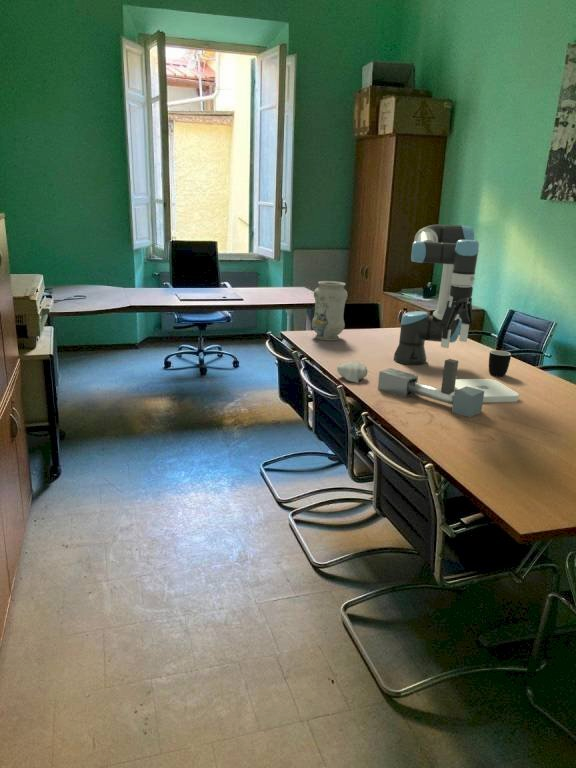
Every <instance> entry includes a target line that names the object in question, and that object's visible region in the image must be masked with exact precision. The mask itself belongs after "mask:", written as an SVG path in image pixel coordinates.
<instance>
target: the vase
mask: <svg viewBox="0 0 576 768" xmlns="http://www.w3.org/2000/svg"><path fill="white" fill-rule="evenodd" d="M317 284H318V287H316V288H315V289H314V291H313V298H314V302H315V303H314V315H313V318H312V321H311V327H312V330H313V331H314V332H315V334H316V335H315V338H316V339H318V340H321V341H327V342H328V341H329V342H331V341H333V342H334V341H338V340H340V337H339V335H340V334H341V333H342V332H343V331H344V330H345V327H346V326H345V325H346V324H345V320H344V313H345V306H346V301H347V299H348V292H347V290H346V289H345V288H344V287H345V286H346V283H345V282H341V281H331V280H322V281H318V282H317Z"/></svg>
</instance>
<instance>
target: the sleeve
mask: <svg viewBox="0 0 576 768" xmlns="http://www.w3.org/2000/svg"><path fill="white" fill-rule="evenodd" d="M378 372H379V373H378V383H377V390H378V391H382V392H386V393H390V394H393V395H396V396H399V397H402V398H408V397H411V396H412V395H413V396H414V395H415V394H414V393H411V392H408V384H409V381H413V382H417V383H418V379H419V375H418V374H413V373H411V372H408V371H407V372H406V371H403V370H400V369H399V370H398V369H394V368H386V369H383V370H380V371H378Z"/></svg>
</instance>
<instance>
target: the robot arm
mask: <svg viewBox="0 0 576 768" xmlns="http://www.w3.org/2000/svg"><path fill="white" fill-rule="evenodd" d="M479 247H480V243H479V241H478V240H475V231H474V228H473V227H472V226H469V225H463V224H461V225H456V224H432V225H430V224H429V225H427V226H425V227H422V228H421V229H419V230H418V231H417V232H416V233H415V235H414V239H413V242H412V246H411V255H410V256H411V257H410V261H411V262H412V263H413V262H414V263H418V264H419V263H420V264H423V263H424V264H426V263H428V264H439V265H441V264H442V265H443V266H442V271H441V279H440V280H441V281H440V287H439V293H438V300H437V308H436V310H434V311H433V313H432V315H429V314H428V312H427V311H421V310H420V311H419V310H418V311H417V310H416V311H408V312H405V313H403V315H402V316H401V322H400V331H399V333H400V334H399V341H398V345H397V347H396V349H395V352H394V354H393V361H394V362H397V363H399V364H404V365H410V366H411V365H412V366H417V365H418V366H420V365H425V364H426V363H427V354H426V348H425V342H427V341H428V342H437V343H438V342H440V348H443V349H444V348H445V349H449V347H450V343H456V341H457V340H458V341H459V342H462V343H467V342H468V336H469V328H470V325H473V321H474V315H473V305H472V304H473V298H472V296H473V290H474V288H473V286H474V281H475V280H476V277H475V276H476V267H477V261H478V255H479V253H480V251H479ZM458 338H459V339H458Z"/></svg>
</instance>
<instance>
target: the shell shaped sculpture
mask: <svg viewBox="0 0 576 768" xmlns="http://www.w3.org/2000/svg"><path fill="white" fill-rule="evenodd" d="M336 369H337V374H338V375H339V376H341V377H342V378H344V379H345V380H347V381H348V382H352V383H356V384H357V383H359V381H360V380H362V379H364V378H366V377H367V375H368V367H367V365H366V364H363V363H361V362H360V361H356V362H355V361H353V360H352V361H351V360H350V361H348V362H343V363H340V364H339V365H337V368H336Z"/></svg>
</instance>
